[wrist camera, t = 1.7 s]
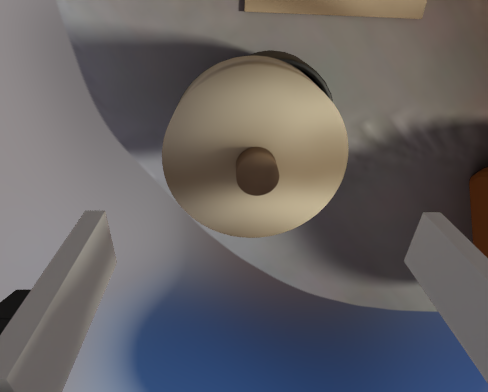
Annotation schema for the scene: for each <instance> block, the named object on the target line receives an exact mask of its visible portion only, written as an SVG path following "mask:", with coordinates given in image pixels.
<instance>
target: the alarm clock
mask: <svg viewBox="0 0 488 392" xmlns="http://www.w3.org/2000/svg"><path fill="white" fill-rule="evenodd" d="M469 188H470V203H471V218H472V234H473V244H474V245H475V246H476V247H477V248H478V249H479V250H480V251H481V252H482V253H483V254H484V255H485V256H486V257H487V258H488V167H486V168H484V169H482V170H480V171H479V172H477V173H476V174H475V175H473V176H472V177H471V179H470V182H469Z"/></svg>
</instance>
